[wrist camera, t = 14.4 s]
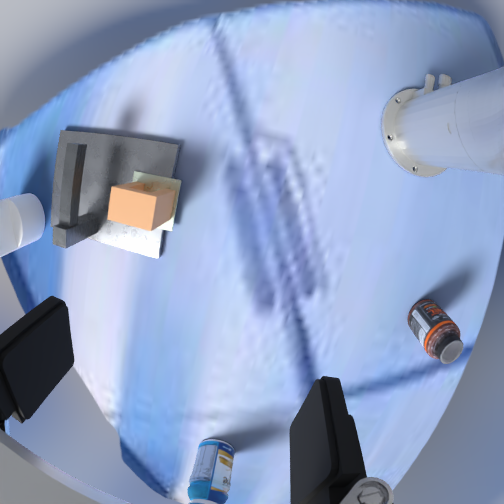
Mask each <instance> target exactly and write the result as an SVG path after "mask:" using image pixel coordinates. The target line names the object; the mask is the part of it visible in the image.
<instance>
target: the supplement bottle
mask: <svg viewBox="0 0 504 504" xmlns="http://www.w3.org/2000/svg"><path fill="white" fill-rule="evenodd" d="M408 325H409V327H410V328H411V330H412V331H413V333H414V334H415V336H416V337H417V339H418V340H419V342H420V343H421V345H422V346H423V348H424V349H425V350H426V352H427V353H428V355H429V356H430V357H432V358H435V359H440V361H441V362H442V363H444V364H448V363H451V362H453V361H454V360H456V359H457V358H458V357H459V356H460V354H461V352H462V350H463V342H462V341H461V340H460V330H459V328H458V326H457V325H456V324H455V323H454V322H453V321H452V320H451V318H450V317H449V316H448V315H447V314H446V313H445V312H444V311H443V310H442V309H441V308H440V307H439V306H438V305H437V304H436V303H435V302H434V301H432V300H429V299H426V300H422V301H419V302H418V303H416V304H415V305H414V306H413V308H412V309H411V310H410V312H409V315H408Z"/></svg>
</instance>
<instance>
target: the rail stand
mask: <svg viewBox="0 0 504 504" xmlns="http://www.w3.org/2000/svg"><path fill="white" fill-rule="evenodd" d="M180 146H181V145H177V144H171V143H165V142H159V141H152V140H146V139H139V138H132V137H124V136H116V135H108V134H99V133H89V132H77V131H64V130H61V132H60V137H59V143H58V150H57V156H56V164H55V172H54V182H53V193H52V208H51V227H53V244H54V245H57V246H60V247H63V248H68V247H70V246H72V245H74V244H76V243H78V242H80V241H82V240H84V239H86V238H89V239H92V240H95V241H99V242H102V243H105V244H109V245H112V246H115V247H119V248H122V249H126V250H129V251H133V252H136V253H140V254H143V255H147V256H150V257H154V258H157V259H158V258H160V257H161V250H162V243H163V236H164V230H167V231H171V232H172V231H173V225H174V219H175V214H176V208H177V203H178V197H179V192H180V187H181V182H182V180H177V179H174V174H175V169H176V165H177V160H178V155H179V151H180ZM131 182H140V183H145V185H144V191H146V192H151V193H152V192H155V191H158V190H162V189H165V188H167V189H171V190H175V191H176V192H175V197H174V202H173V207H172V213H171V218H170V220H169V221H167V222H166V223H164V224H162V225H161V226H159V227H157V228H156V229H154V230H153V231H148V230H144V229H140V228H137V227H133V226H129V225H126V224H122V223H118V222H115V221H111V220H107V218H108V210H109V202H110V194H111V187H112V186H117V185H121V184H126V183H131Z"/></svg>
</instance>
